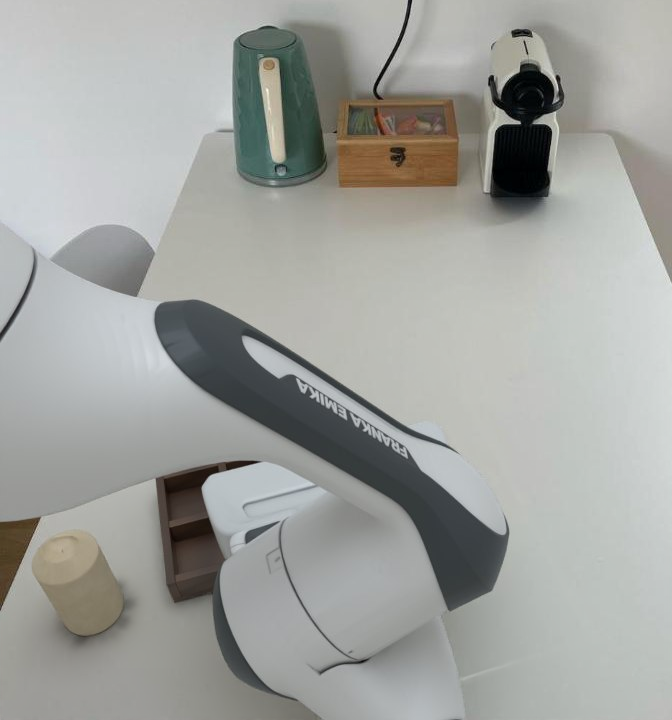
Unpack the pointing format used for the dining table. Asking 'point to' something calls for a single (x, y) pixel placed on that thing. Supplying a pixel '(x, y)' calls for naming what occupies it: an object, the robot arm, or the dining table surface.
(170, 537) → the grid
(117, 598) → the candle
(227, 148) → the dining table surface
